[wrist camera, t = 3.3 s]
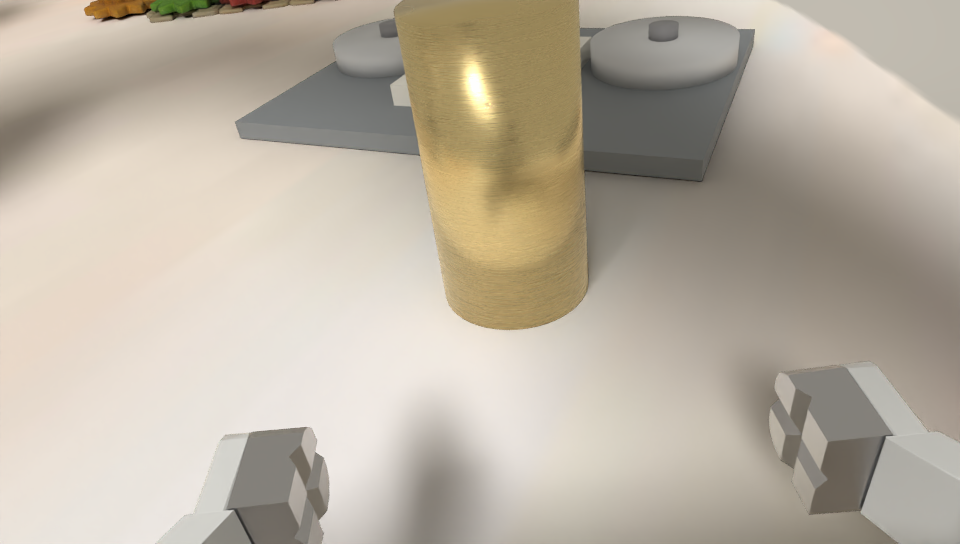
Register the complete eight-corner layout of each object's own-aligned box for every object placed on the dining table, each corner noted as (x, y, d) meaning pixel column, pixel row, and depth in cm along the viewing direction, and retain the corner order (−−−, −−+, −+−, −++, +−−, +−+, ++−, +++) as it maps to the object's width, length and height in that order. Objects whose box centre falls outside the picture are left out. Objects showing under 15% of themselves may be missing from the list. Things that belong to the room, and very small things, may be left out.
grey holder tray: (240, 138, 40) (222, 84, 38) (395, 40, 53) (386, -4, 51) (701, 181, 29) (706, 110, 27) (753, 45, 42) (759, -9, 40)
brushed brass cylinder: (420, 314, 24) (358, 25, 18) (480, 236, 28) (444, -24, 22) (560, 342, 22) (539, 26, 16) (605, 254, 26) (601, -28, 20)
